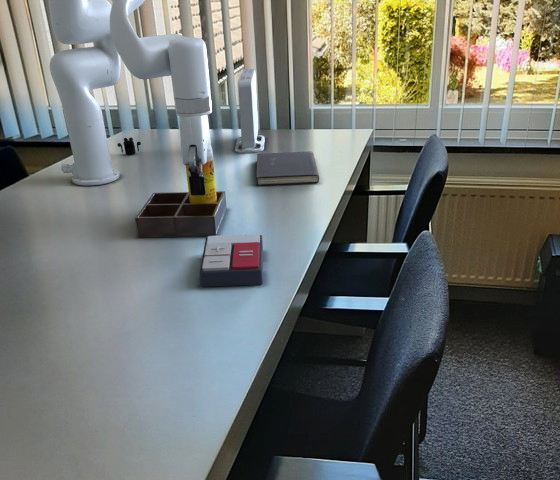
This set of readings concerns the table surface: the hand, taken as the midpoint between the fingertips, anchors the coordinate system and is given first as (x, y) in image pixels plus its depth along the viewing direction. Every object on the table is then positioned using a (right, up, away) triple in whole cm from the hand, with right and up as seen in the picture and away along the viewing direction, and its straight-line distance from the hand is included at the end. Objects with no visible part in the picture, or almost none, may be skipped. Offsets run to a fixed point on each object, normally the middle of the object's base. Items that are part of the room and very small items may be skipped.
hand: (202, 187), depth 138 cm
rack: (-4, -8, 0) cm, 9 cm away
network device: (+8, +31, +57) cm, 65 cm away
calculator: (+9, -22, -21) cm, 32 cm away
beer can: (0, -5, +3) cm, 6 cm away
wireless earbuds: (-28, +26, +52) cm, 65 cm away
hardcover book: (+19, +13, +31) cm, 39 cm away
